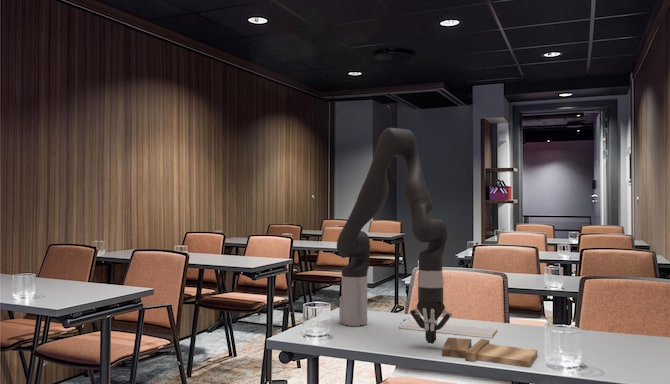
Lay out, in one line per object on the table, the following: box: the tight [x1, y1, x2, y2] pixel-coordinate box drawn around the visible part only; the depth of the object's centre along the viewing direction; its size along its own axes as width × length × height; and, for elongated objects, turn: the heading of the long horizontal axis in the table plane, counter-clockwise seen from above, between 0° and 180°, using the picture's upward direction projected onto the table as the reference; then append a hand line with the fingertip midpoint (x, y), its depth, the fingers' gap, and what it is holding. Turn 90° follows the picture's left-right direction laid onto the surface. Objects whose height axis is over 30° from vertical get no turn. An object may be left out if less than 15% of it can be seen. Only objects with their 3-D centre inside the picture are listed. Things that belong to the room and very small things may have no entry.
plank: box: [441, 337, 472, 359], centre depth 158 cm, size 2×14×7 cm
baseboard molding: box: [398, 317, 498, 340], centre depth 183 cm, size 31×3×12 cm
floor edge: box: [464, 338, 538, 368], centre depth 152 cm, size 16×17×2 cm
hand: (431, 342), depth 162 cm, fingers closed
